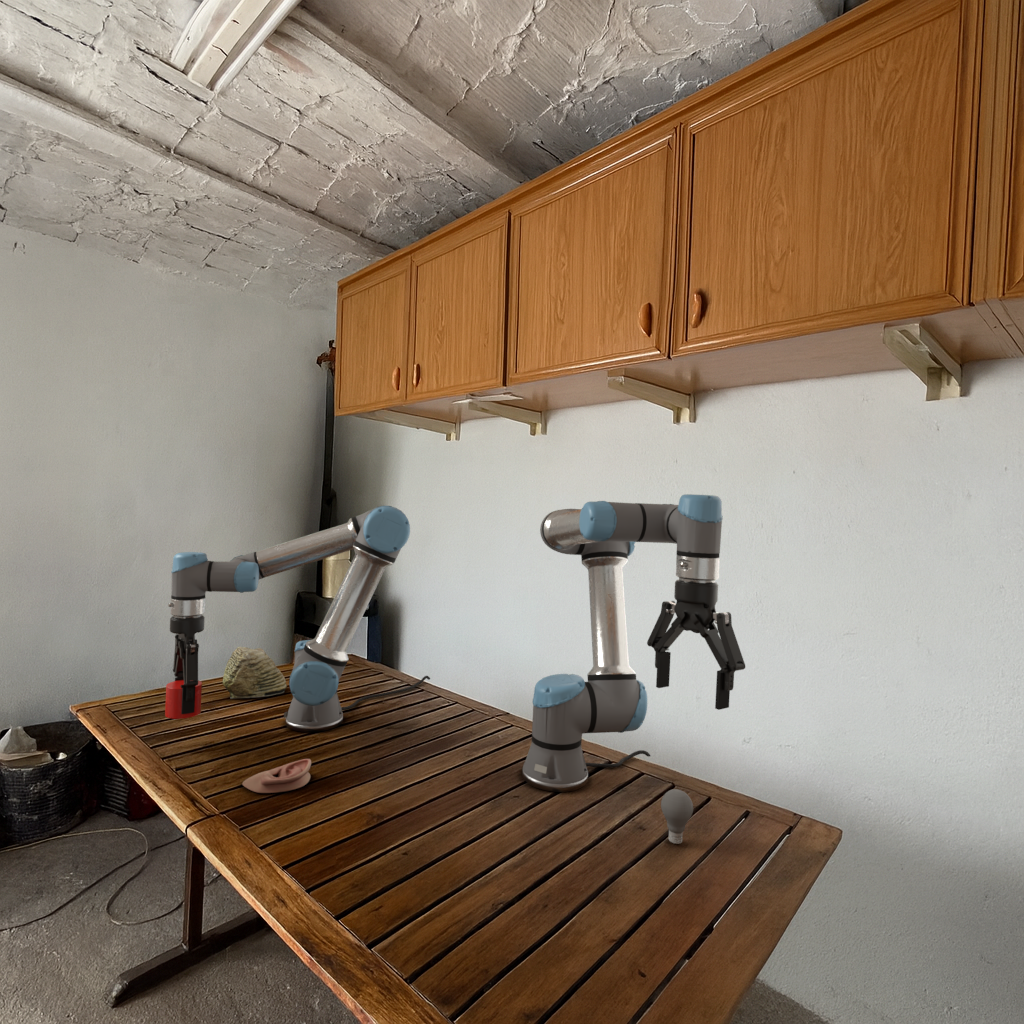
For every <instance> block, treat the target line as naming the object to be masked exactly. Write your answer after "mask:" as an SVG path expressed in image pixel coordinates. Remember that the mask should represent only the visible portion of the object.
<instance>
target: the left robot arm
mask: <svg viewBox="0 0 1024 1024" xmlns="http://www.w3.org/2000/svg"><path fill="white" fill-rule="evenodd" d="M410 525H411V524H410V522H409V518H408V517H407V516H406V514H405V513H404V512H403V511H402V510H400V509H399V508H397V507H395V506H392V505H379V506H375V507H373V508H372V509H369V510H367V511H366V512H363V513H361V514H359V515H356V516H353V517H350V518H349V519H348V521H347V522H345V523H343V524H339V525H335V526H333V527H330V528H327V529H323V530H320V531H315V532H313V533H311V534H307V535H303V536H300V537H298V538H294V539H290V540H287V541H285V542H282V543H278V544H275V545H272V546H268V547H265V548H262V549H259V550H255V551H253V552H250V553H246V554H240V555H237V556H234V557H233V558H232V559H230V560H229V561H214V560H208V555H207V554H206V553H205V552H198V551H182V552H178V553H176V554H174V555H173V558H172V567H171V593H170V594H171V596H170V598H171V599H170V601H171V602H169V603H168V604H167V606H168V607H169V608H170V615H171V617H170V618H169V632H170V633H171V634H174V655H173V666H172V667H173V668H172V672H173V673H174V674H173V676H174V681H178V680H184V685H181V686H180V687H181V688H182V710H181V714H188V713H194V710H195V686H196V685H198V680H199V648H200V645H199V643H198V639H196V634H197V633H198V634H199V633H202V632H203V631H204V630H205V620H206V619H205V618H206V617H205V616H204V614H205V613H206V600H207V599H206V593H207V592H209V593H212V592H218V593H220V592H221V593H223V592H224V593H240V594H243V593H253V592H255V591H256V590H257V589H258V586H259V580H262V579H264V578H267V577H270V576H275V575H277V574H281V573H283V572H287V571H289V570H293V569H296V568H300V567H302V566H305V565H309V564H312V563H315V562H318V561H322V560H325V559H327V558H330V557H335V556H337V555H340V554H343V553H346V552H349V551H352V550H354V556H353V558H352V561H351V563H350V564H349V566H348V569H347V570H346V572H345V575H344V576H343V580H342V581H341V583H340V585H339V587H338V589H337V592H336V594H335V596H334V597H333V600H332V602H331V604H330V606H329V608H328V610H327V613H326V614H325V616H324V618H323V620H322V623H321V625H320V627H319V628H318V630H317V633H316V635H315V637H314V638H313V639H306V640H305V639H303V640H299V641H297V642H296V643H295V648H294V664H293V667H292V670H291V673H290V676H289V679H288V684H289V685H288V686H289V690H290V693H291V694H292V699H291V702H290V704H289V708H288V711H285V712H284V713H283V719H285V726H286V728H287V729H289V730H291V731H294V732H295V731H296V732H301V733H316V732H325V731H329V730H332V729H335V728H337V727H339V726H340V725H342V723H343V722H344V714H343V711H345V710H346V711H347V710H350V709H353V708H354V707H356V706H357V705H358V704H359V703H360V702H362V701H366V700H369V699H374V698H379V697H380V698H381V697H384V696H390V695H394V694H399V693H404V692H407V691H409V690H412V689H415V688H416V687H418V686H419V685H421V684H423V682H424V681H425V680H426V679H427V680H429V681H430V680H431V677H430V676H428V675H424V676H423V677H422V678H420V680H419V681H417V682H416V683H414V684H412V685H410V686H408V687H404V688H400V689H397V690H391V691H387V692H381V693H376V694H375V693H374V694H371V695H366V696H363V697H360V698H358V699H356V700H355V701H354V702H353V703H352V704H350V705H348V706H341V702H340V699H339V695H338V688H339V684H340V683H339V682H340V680H341V677H342V675H343V672H344V670H345V668H346V667H347V663H348V662H349V656H348V653H347V650H348V648H349V646H350V644H351V642H352V640H353V637H354V636H355V633H356V631H357V629H358V627H359V625H360V624H361V623H360V622H361V620H362V618H363V616H364V614H365V612H366V610H367V608H368V606H369V603H370V602H371V599H372V597H373V596H374V593H375V591H376V589H377V586H378V585H379V582H380V580H381V578H382V576H383V574H384V572H385V570H386V569H387V568H388V567H389V566H392V565H395V562H396V561H397V558H398V556H399V554H400V552H401V550H402V548H403V547H404V546H405V545H406V544H407V542H408V541H409V538H410V536H411V535H410V534H411V526H410ZM192 680H193V681H192Z"/></svg>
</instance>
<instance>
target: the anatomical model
mask: <svg viewBox="0 0 1024 1024" xmlns="http://www.w3.org/2000/svg"><path fill="white" fill-rule="evenodd" d="M311 766H312V760H311V759H310V758H303V759H299V760H295V761H291V762H289V763H286V764H283V765H281V766H280V765H279V766H277V767H275V768H271V769H269V770H264V771H261V772H258V773H256V774H253V775H252V776H250V777H247V778H246V779H244V780H243V781H242V783H241V785H242V786H243V787H244V788H245V789H248V790H250V791H252V792H254V793H258V794H271V793H272V794H273V793H274V794H275V793H283V792H289V791H294V790H296V789H300V788H302V787H304V786H305V785H307V784H308V783H309V782H310V780H311V777H312V776H311V774H310V772H309V771H310V770H311Z"/></svg>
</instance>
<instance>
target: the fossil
mask: <svg viewBox="0 0 1024 1024" xmlns="http://www.w3.org/2000/svg"><path fill="white" fill-rule="evenodd" d="M222 676H223V677H222V685H223V687H224V688H225V690H226V691H228V693H229V698H230V699H250V698H264V697H271V696H275V695H281V694H284V693H285V691H286V689H287V687H288V686H287V680H286V678H285V676H284V674H283V673H282V672H281V669H279V668H278V667H277V665H276V663H275V662H274V660H273V659H272V658H271V657H270V656H269V655H268V654H267V653H266V652H265V650H264V649H263V648H260V647H258V648H251V647H247V646H246V647H245V646H238V647H237V648H236V649H235V650H233V651H232V653H231V656H230V657H229V659H228V660H227V663H226V666H225V668H224V671H223V675H222Z"/></svg>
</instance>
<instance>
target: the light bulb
mask: <svg viewBox="0 0 1024 1024" xmlns="http://www.w3.org/2000/svg"><path fill="white" fill-rule="evenodd" d="M660 808H661V812H662V814H663V816H664V818H665V820H666V825H667V829H668V841H669V842H670V843H671V844H675V845H679V844H682V843H683V835H684V831H685V829H686V825H687V823H688V822H689V821H690V819H691V817H692V816H693V813H694V804H693V801H692V799H691V797H690V796H689V795H688V794H687V792H685V791H684V790H681V789H677V788H674V789H670V790H668V791H666V792H665V793H664V794H663V796H662V798H661V801H660Z"/></svg>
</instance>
